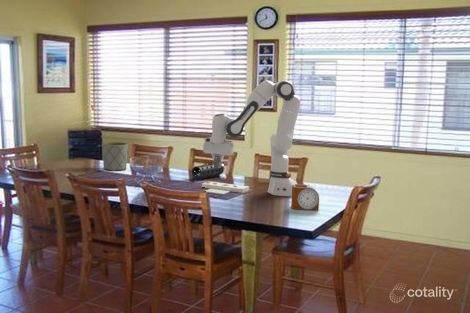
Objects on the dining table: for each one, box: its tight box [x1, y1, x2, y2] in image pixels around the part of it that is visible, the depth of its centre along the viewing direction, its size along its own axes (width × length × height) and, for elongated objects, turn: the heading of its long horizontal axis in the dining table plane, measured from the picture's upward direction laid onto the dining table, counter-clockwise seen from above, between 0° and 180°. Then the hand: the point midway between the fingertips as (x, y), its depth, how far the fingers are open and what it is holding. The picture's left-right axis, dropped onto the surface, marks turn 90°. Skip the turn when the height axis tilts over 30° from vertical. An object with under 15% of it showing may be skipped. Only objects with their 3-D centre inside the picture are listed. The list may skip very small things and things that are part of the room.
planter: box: [101, 141, 129, 172], centre depth 408 cm, size 19×19×20 cm
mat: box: [205, 188, 231, 195], centre depth 340 cm, size 14×9×1 cm, turn 65°
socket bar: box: [201, 180, 250, 194], centre depth 351 cm, size 30×10×3 cm, turn 65°
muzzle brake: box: [191, 162, 226, 181], centre depth 388 cm, size 10×28×10 cm, turn 144°
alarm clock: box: [290, 183, 320, 211], centre depth 303 cm, size 15×8×14 cm, turn 90°
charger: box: [213, 154, 222, 168], centre depth 337 cm, size 3×4×8 cm
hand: (217, 161), depth 337 cm, fingers closed on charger, 3 cm apart
